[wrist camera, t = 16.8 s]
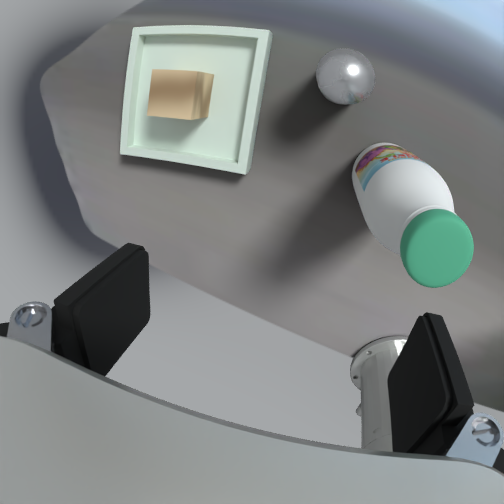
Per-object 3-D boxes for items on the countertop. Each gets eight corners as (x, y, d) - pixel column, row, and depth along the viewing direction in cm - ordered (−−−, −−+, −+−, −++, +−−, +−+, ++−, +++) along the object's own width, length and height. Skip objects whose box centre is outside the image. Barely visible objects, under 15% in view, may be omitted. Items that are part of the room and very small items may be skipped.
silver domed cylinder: (359, 109, 31) (369, 110, 24) (313, 98, 31) (311, 96, 24) (367, 66, 29) (379, 56, 22) (321, 55, 29) (321, 42, 22)
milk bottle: (415, 208, 34) (482, 308, 17) (351, 208, 36) (372, 313, 18) (416, 142, 31) (505, 191, 13) (349, 141, 33) (380, 187, 15)
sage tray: (250, 169, 36) (245, 174, 34) (130, 150, 38) (120, 154, 36) (273, 35, 29) (269, 30, 27) (143, 30, 31) (133, 27, 29)
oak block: (208, 117, 34) (190, 120, 29) (168, 112, 34) (146, 115, 30) (214, 74, 31) (197, 71, 27) (173, 71, 32) (152, 69, 28)
